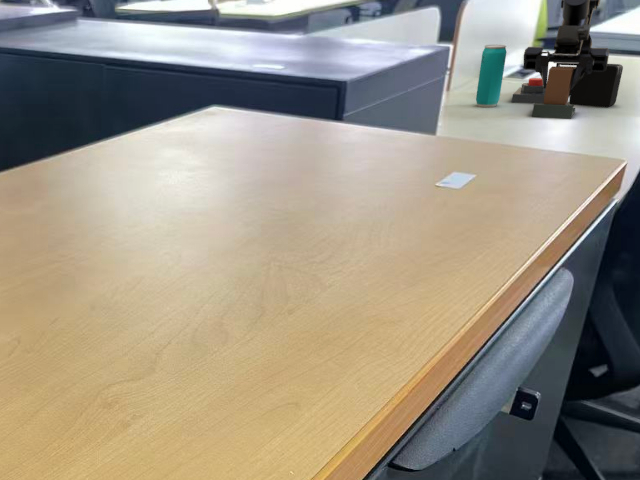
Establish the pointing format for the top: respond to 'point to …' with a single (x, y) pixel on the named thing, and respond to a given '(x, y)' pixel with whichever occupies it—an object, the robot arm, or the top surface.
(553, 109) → the block
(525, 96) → the power panel
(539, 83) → the power button
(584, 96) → the electronic device
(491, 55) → the beverage can
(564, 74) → the brown box
